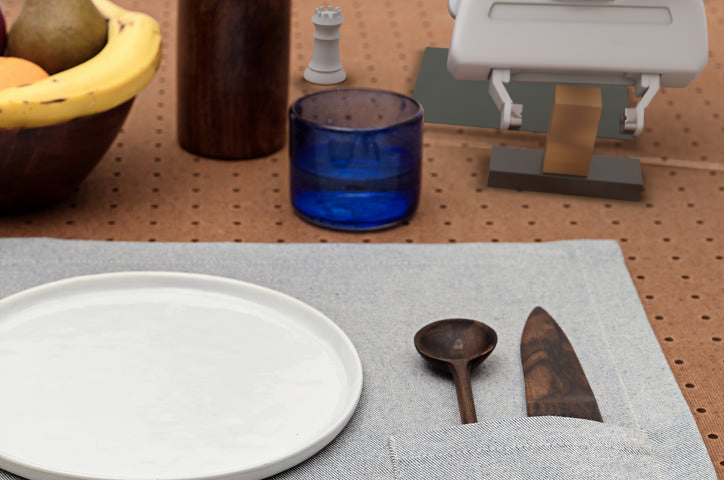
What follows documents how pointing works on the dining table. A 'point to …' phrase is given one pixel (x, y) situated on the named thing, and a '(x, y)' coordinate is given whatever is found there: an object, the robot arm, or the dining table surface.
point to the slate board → (477, 108)
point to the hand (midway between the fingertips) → (570, 130)
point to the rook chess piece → (326, 48)
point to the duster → (568, 155)
